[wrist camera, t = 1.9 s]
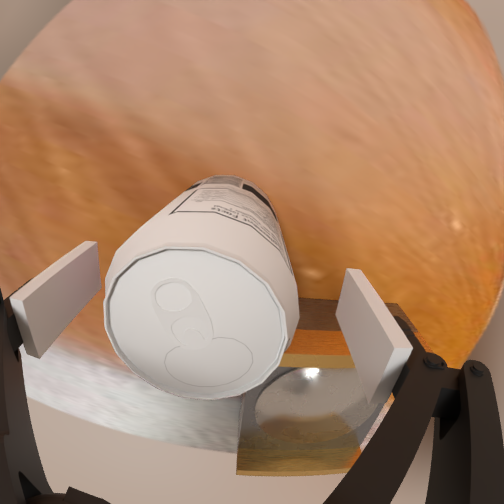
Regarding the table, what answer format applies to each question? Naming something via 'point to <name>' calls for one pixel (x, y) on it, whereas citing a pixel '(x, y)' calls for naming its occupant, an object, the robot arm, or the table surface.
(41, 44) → the table surface
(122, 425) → the table surface
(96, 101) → the table surface
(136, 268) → the supplement can
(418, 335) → the grey boxy piece
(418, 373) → the robot arm
